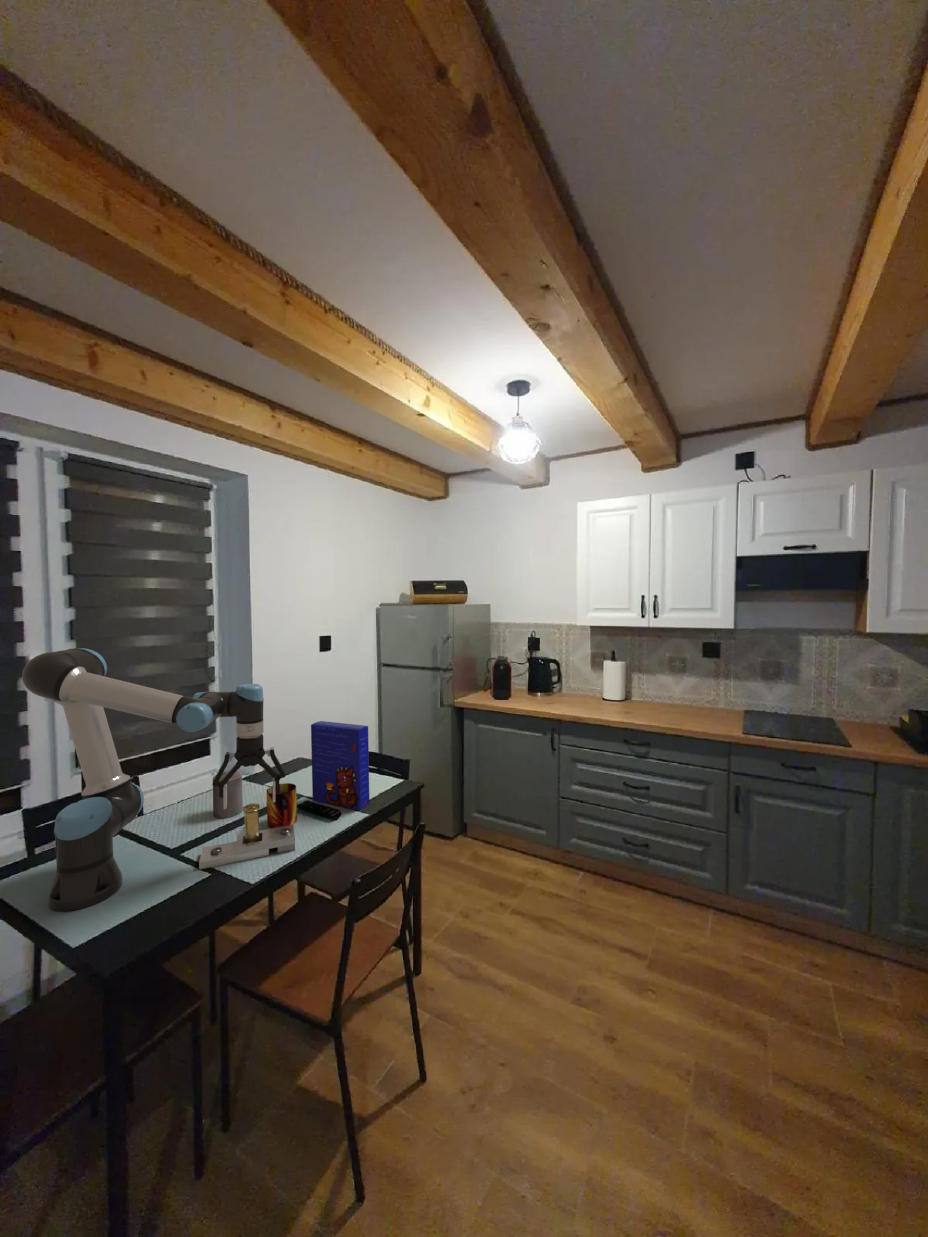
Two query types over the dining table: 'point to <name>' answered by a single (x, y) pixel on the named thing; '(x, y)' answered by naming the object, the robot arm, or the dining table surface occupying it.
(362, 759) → the cereal box
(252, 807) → the brass pin
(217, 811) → the pillar candle
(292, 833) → the slotted metal plate
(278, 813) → the mug
